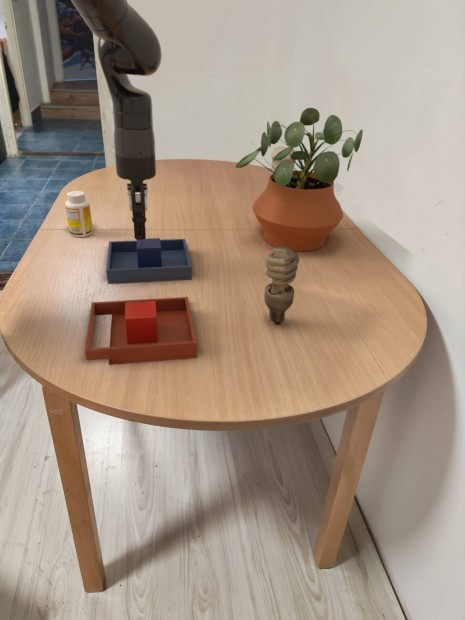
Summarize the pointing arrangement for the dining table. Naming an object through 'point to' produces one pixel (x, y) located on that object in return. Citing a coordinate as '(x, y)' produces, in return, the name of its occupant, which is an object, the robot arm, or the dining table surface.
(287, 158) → the coffee cup
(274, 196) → the potted plant
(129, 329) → the red block
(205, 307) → the dining table surface
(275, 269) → the light bulb
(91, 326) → the front tray
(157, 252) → the blue block
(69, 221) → the supplement bottle
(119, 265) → the back tray
